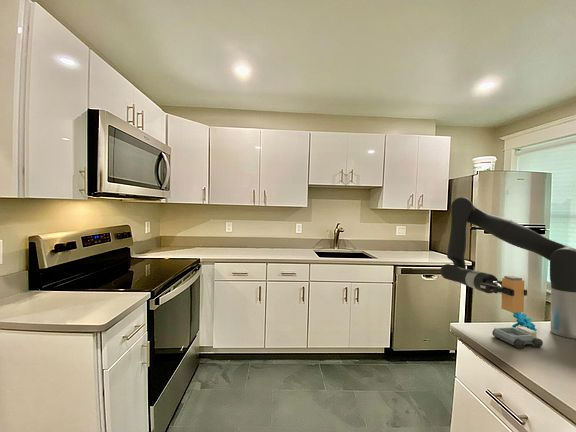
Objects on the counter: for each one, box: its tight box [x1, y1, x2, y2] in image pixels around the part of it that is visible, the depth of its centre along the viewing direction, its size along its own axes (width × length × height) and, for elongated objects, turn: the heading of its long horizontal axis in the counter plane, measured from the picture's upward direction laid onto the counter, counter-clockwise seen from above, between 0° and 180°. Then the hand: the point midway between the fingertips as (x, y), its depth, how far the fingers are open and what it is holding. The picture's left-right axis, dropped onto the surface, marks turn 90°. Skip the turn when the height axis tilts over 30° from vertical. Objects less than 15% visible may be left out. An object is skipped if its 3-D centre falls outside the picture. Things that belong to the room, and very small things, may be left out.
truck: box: [492, 326, 544, 350], centre depth 105 cm, size 11×10×4 cm
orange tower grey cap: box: [500, 275, 525, 314], centre depth 105 cm, size 4×4×12 cm
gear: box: [511, 312, 538, 332], centre depth 118 cm, size 11×6×10 cm
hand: (519, 292), depth 102 cm, fingers closed on orange tower grey cap, 4 cm apart
